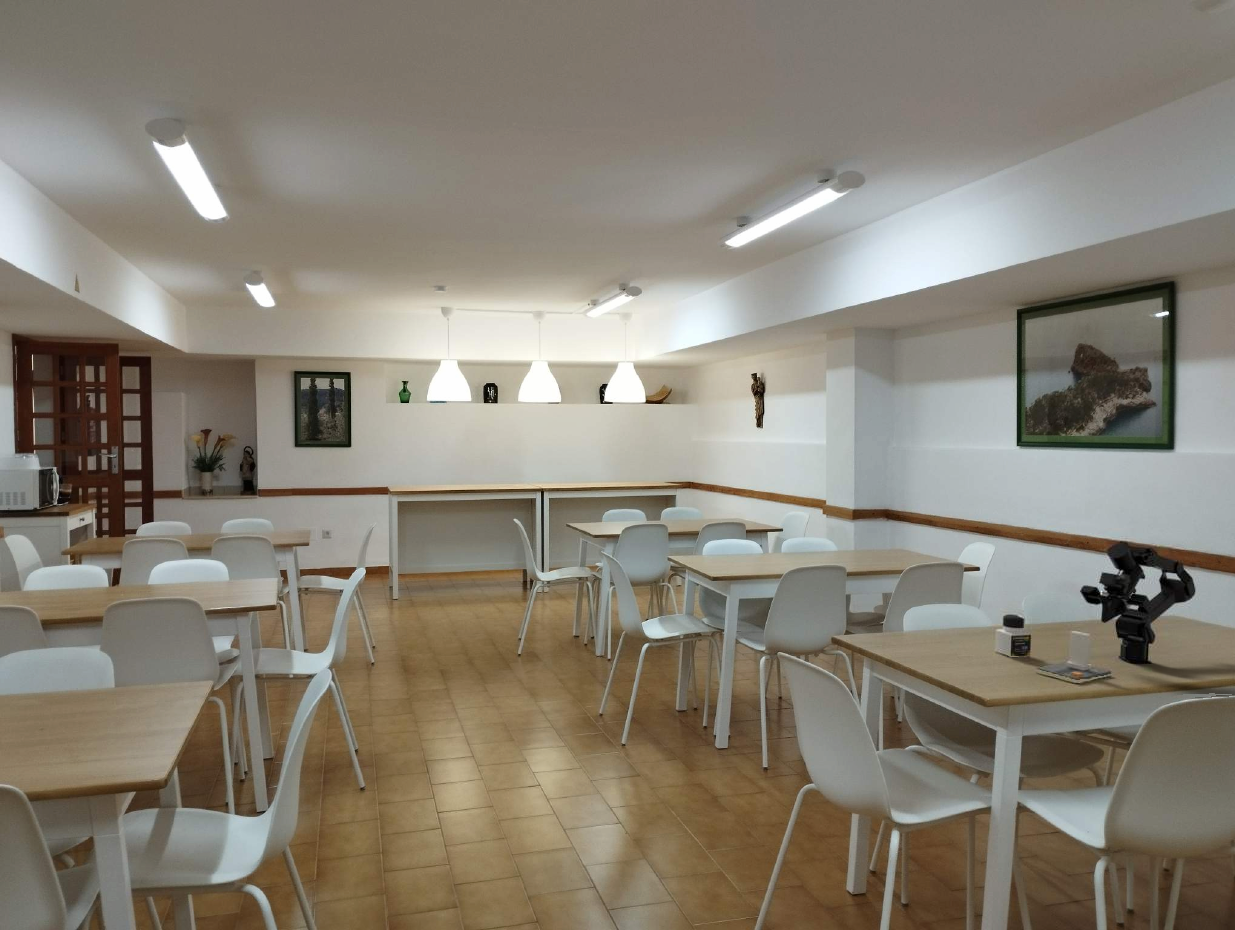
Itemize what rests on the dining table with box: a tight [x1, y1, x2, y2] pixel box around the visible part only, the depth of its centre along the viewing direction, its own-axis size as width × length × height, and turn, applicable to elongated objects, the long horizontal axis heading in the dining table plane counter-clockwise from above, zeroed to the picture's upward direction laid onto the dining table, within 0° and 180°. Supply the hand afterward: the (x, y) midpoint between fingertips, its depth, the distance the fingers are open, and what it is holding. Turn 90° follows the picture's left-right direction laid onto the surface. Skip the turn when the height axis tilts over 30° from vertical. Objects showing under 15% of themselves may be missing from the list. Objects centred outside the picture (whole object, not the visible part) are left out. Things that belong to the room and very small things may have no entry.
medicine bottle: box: [994, 613, 1032, 657], centre depth 271 cm, size 7×7×12 cm
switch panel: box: [1035, 660, 1112, 680], centre depth 250 cm, size 16×12×2 cm
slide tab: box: [1065, 630, 1093, 671], centre depth 251 cm, size 4×5×10 cm
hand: (1103, 621), depth 256 cm, fingers closed
